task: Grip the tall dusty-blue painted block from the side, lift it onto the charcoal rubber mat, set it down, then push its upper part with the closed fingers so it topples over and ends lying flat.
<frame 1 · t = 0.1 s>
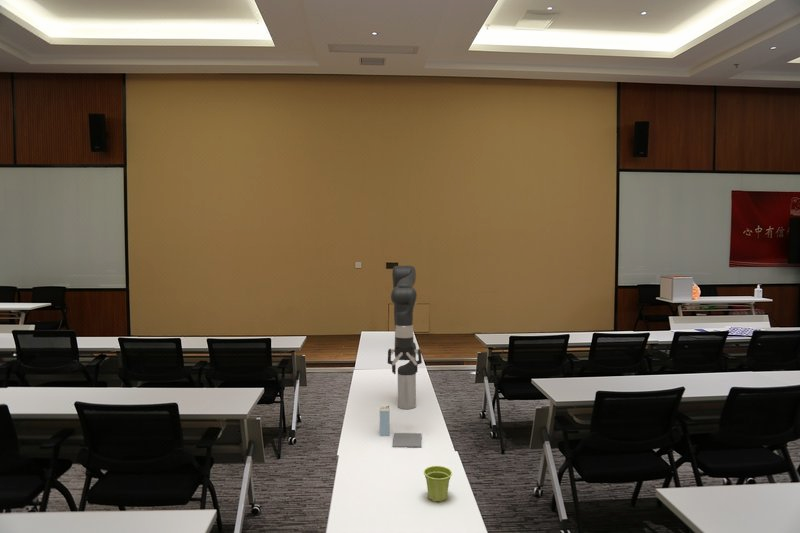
hand: (404, 373, 215), 29 cm above the table, tool pointing down, fingers open, 8 cm apart
mat: (407, 440, 218), on the table
plant pot: (437, 498, 170), on the table
blue block: (384, 434, 225), on the table
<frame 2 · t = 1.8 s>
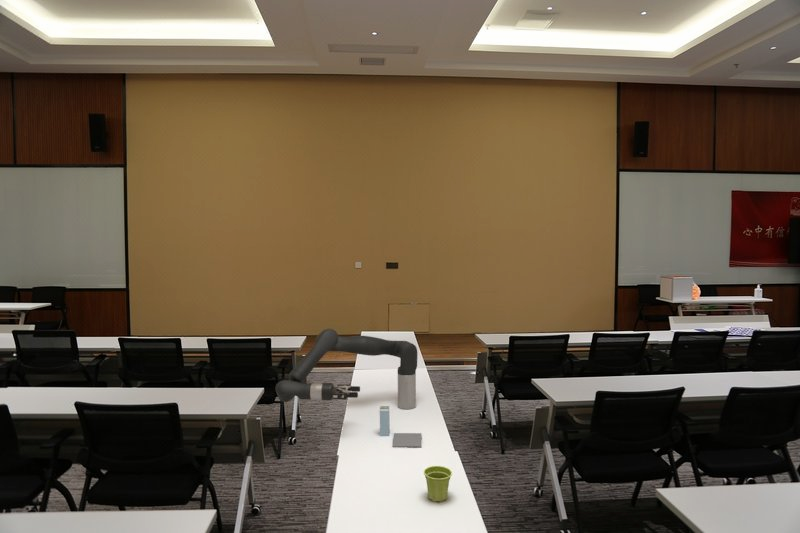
hand: (358, 391, 224), 19 cm above the table, tool horizontal, fingers open, 8 cm apart
nothing on the table moved.
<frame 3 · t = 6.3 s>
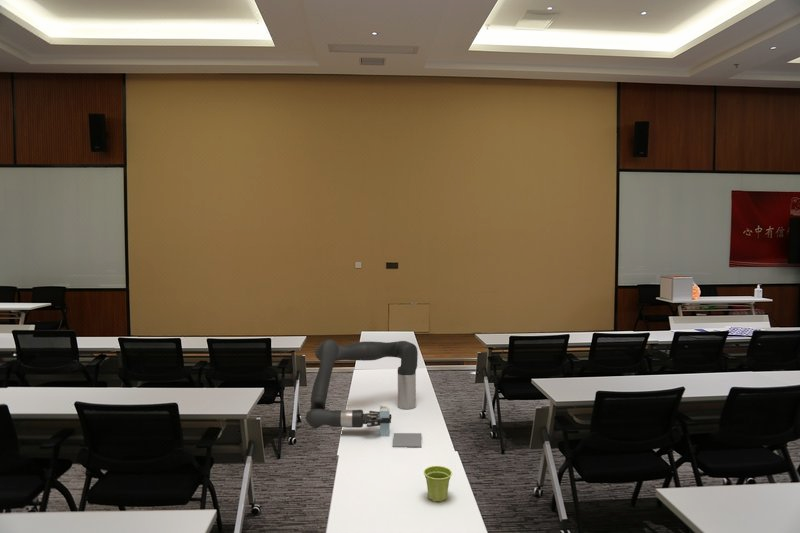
hand: (390, 418, 224), 7 cm above the table, tool horizontal, fingers closed on blue block, 4 cm apart
blue block: (384, 434, 225), on the table, touching gripper
everything else where it was.
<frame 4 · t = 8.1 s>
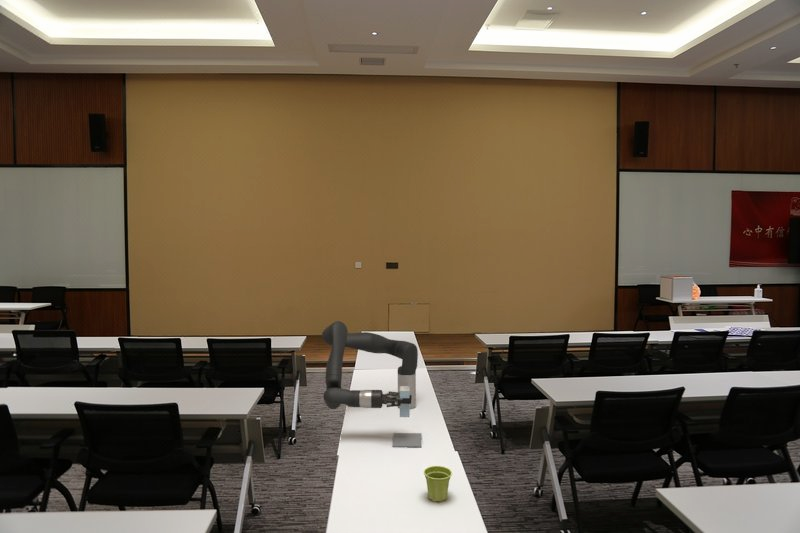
hand: (411, 399, 217), 18 cm above the table, tool horizontal, fingers closed on blue block, 4 cm apart
blue block: (404, 415, 217), point 11 cm above the table, touching gripper
everything else where it was.
when the fingers open (9 cm above the table, at t = 10.3 s): blue block drops 1 cm, resting on mat.
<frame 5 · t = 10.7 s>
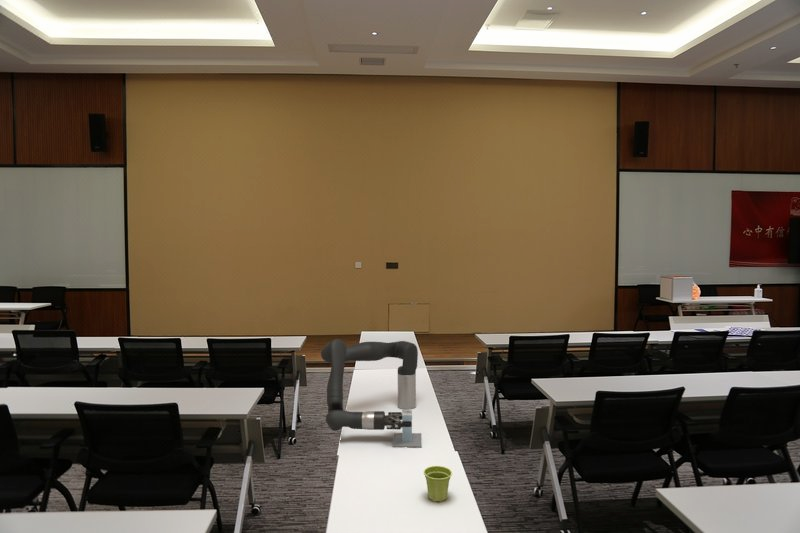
hand: (411, 420, 217), 9 cm above the table, tool horizontal, fingers open, 8 cm apart
blue block: (407, 439, 218), point 1 cm above the table, touching mat
everything else where it was.
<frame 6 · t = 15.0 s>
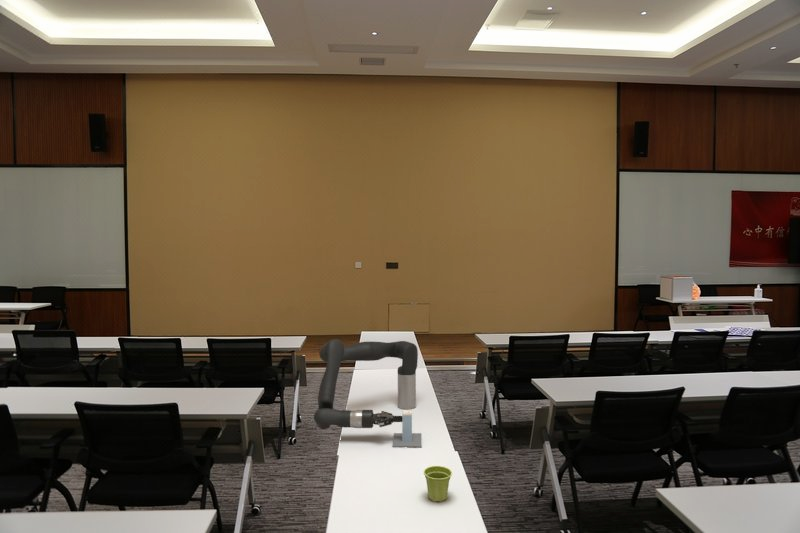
hand: (402, 418, 217), 9 cm above the table, tool horizontal, fingers closed
blue block: (407, 439, 218), point 1 cm above the table, touching gripper, mat
everything else where it was.
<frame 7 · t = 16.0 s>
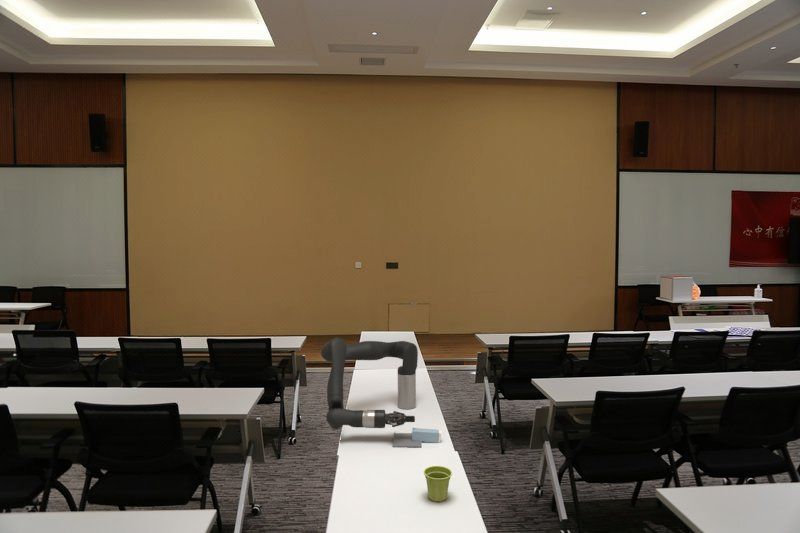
hand: (414, 418, 217), 10 cm above the table, tool horizontal, fingers closed
blue block: (412, 434, 218), point 3 cm above the table, tilted 94°, touching mat
everything else where it was.
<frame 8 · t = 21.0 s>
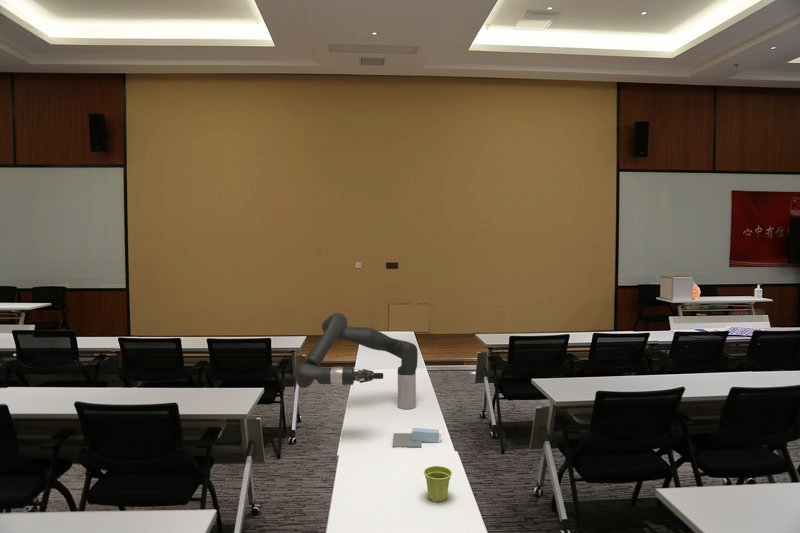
hand: (383, 375, 216), 28 cm above the table, tool horizontal, fingers closed
nothing on the table moved.
at the end: blue block tilted 94°; blue block inside the target area (3.4 cm from its centre), point 2.9 cm above the table; the gripper is holding nothing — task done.
